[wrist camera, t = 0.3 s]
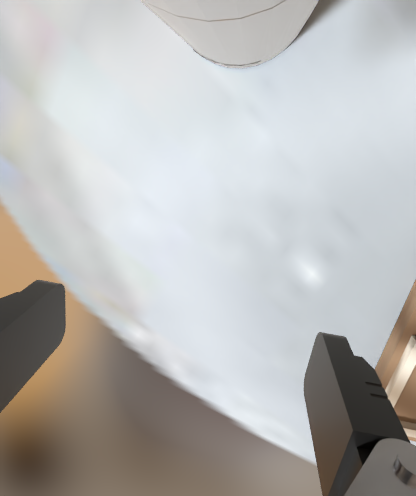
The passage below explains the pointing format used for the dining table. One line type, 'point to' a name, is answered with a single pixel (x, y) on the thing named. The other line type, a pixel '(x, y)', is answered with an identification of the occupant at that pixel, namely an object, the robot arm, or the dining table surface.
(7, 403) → the robot arm
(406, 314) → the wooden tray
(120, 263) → the dining table surface
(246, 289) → the dining table surface
